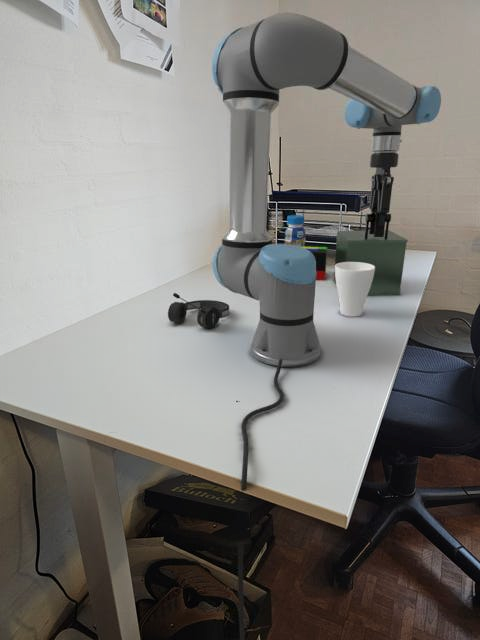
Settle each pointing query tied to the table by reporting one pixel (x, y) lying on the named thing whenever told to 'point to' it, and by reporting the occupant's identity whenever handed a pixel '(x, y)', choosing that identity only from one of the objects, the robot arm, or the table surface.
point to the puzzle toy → (319, 260)
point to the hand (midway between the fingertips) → (376, 235)
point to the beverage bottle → (295, 231)
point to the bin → (376, 263)
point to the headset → (205, 316)
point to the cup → (353, 286)
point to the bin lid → (369, 238)
